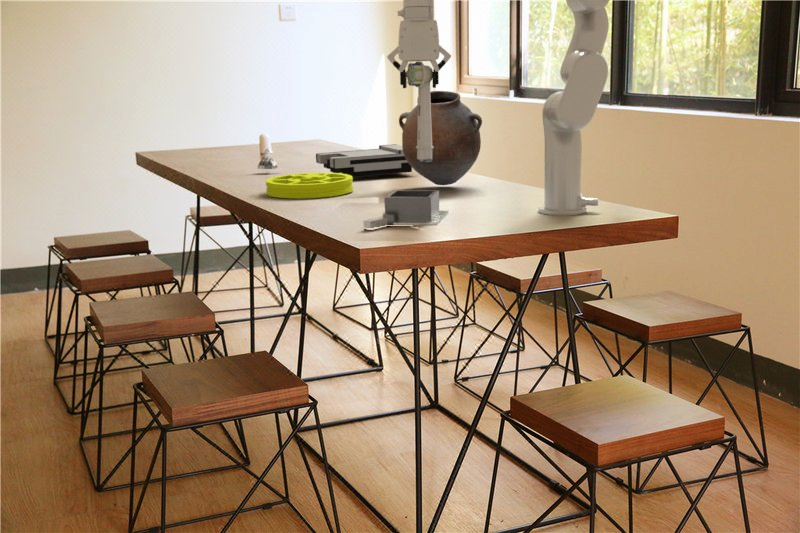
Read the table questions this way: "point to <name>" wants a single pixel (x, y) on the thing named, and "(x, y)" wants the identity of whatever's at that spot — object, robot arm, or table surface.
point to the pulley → (309, 185)
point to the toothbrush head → (422, 108)
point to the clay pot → (444, 138)
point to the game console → (366, 161)
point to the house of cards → (267, 162)
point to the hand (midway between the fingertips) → (419, 87)
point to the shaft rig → (410, 209)
